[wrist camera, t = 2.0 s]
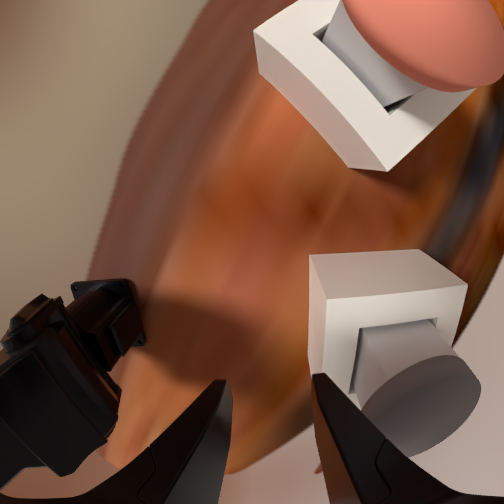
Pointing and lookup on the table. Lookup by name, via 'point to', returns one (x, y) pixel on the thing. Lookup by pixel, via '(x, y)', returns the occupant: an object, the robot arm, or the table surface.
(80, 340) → the robot arm
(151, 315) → the table surface
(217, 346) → the table surface
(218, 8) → the table surface
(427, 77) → the red plug
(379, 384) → the plug
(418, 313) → the socket
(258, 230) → the table surface
